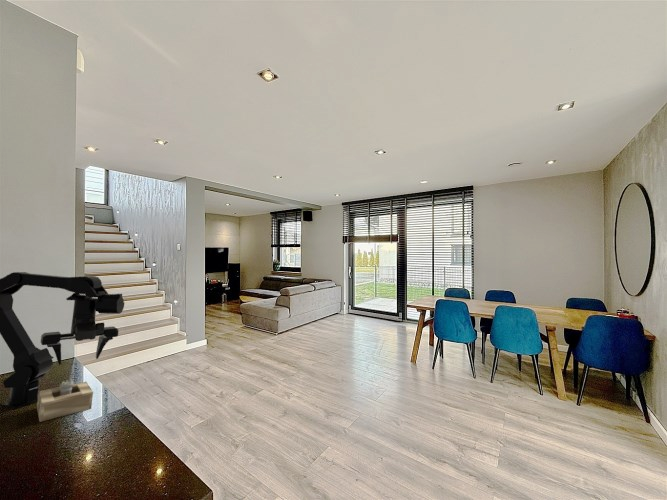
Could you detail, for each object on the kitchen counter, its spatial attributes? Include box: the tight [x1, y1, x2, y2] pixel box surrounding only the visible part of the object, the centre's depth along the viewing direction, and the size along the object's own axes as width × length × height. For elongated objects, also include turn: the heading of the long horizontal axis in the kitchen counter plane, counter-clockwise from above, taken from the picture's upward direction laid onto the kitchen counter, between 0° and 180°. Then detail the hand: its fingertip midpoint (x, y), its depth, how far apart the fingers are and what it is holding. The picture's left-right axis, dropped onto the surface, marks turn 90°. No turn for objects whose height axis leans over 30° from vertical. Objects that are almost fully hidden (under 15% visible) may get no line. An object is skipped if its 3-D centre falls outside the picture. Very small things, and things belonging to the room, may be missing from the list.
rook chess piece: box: [59, 379, 75, 396], centre depth 85 cm, size 4×4×8 cm
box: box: [36, 381, 94, 423], centre depth 85 cm, size 11×11×5 cm
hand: (78, 361), depth 92 cm, fingers open, 9 cm apart
